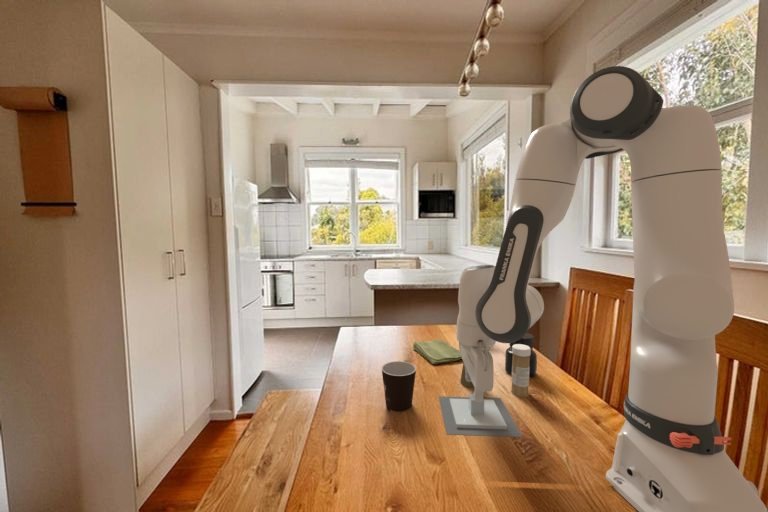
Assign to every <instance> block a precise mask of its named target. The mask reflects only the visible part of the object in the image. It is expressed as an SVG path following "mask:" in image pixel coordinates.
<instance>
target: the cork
mask: <svg viewBox="0 0 768 512" xmlns="http://www.w3.org/2000/svg"><path fill="white" fill-rule="evenodd" d="M462 363H463V364H462V369H461V373H460V374H461V375H460V382H459V383H460V384H461V386H463V387H465V388H468V389H475V388H474V385H473V383H472V382H467V380H466V378H465V374H466V372H465V364H464V362H462Z"/></svg>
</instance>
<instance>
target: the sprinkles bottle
mask: <svg viewBox="0 0 768 512" xmlns="http://www.w3.org/2000/svg"><path fill="white" fill-rule="evenodd" d="M512 354H513V360H512V375H511V390H510V393H511V394H512V395H513V396H515V397H518V398H526V397H527V398H528V397H529V396H530V395H529V386H530V378H529V371H530V366H529V363H530V355H531V348H530V347H529V346H527V345H523V344H515V345H513V346H512Z"/></svg>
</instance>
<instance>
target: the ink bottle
mask: <svg viewBox="0 0 768 512" xmlns="http://www.w3.org/2000/svg"><path fill="white" fill-rule="evenodd" d="M508 344H509V347H508V348H506V349H505V360H504V361H505V365H504V370H505V372H506V373H507V374H508V375H510V376H512V360H513V354H512V346H513V345H515V344H523V345H527V346H529V347H530V348H531V355H530V363H529V366H530V371H529V379H532V378H534V377H536V375H537V366H538V365H537V364H538V363H537V362H538V361H537V358H538V356H537V353H536V351H535V350H534V349H533V348H534V335H533V334H532V333H528V332H526V334H525V335H524V336H523V337H522V338H521V339H520V340H518V341H516V342H513V343H508Z"/></svg>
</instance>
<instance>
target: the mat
mask: <svg viewBox="0 0 768 512" xmlns="http://www.w3.org/2000/svg"><path fill="white" fill-rule="evenodd" d="M449 399H469V396H441V395H439V396H438V401H439V405H440V409H441V415H442V420H443V424H444V429H445V434H446V435H448V436H449V435H450V436H451V435H452V436H477V437H479V436H480V437H505V438H507V437H508V438H523V434H522V433H521V431H520V430H519V428H518V426H517V425H516V422H515V421H514V419H513V417H512V416H511V414H510V412H509V410H508V409H507V407H506V406H505V405H506V404H505V403H504V402H503V400H502V398H501V397H483V399H484V400H494V402H495V404H496V406H497V408H498V410H499V412H500V413H501V415H502V417H503V419H504V421H505V423H506V425H507V429H481V428H456V424H455V421H454V417H453V413H452V409H451V406H450V402H449Z"/></svg>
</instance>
